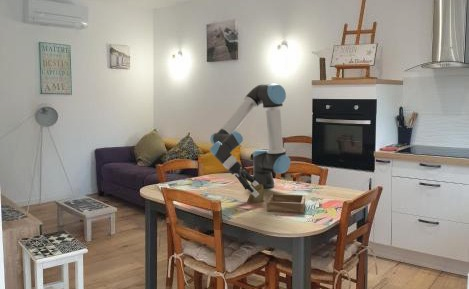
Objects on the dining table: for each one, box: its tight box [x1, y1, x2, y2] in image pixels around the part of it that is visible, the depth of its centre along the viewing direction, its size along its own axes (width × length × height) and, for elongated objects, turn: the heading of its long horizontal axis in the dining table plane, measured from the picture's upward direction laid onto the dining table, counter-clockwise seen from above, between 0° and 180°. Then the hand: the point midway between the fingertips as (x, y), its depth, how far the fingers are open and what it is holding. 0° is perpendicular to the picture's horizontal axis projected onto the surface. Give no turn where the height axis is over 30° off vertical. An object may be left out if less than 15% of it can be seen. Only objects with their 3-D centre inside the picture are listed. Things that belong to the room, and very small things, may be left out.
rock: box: [247, 184, 265, 204], centre depth 234 cm, size 11×9×10 cm
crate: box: [266, 193, 306, 214], centre depth 221 cm, size 18×18×5 cm
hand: (259, 193), depth 234 cm, fingers open, 13 cm apart
